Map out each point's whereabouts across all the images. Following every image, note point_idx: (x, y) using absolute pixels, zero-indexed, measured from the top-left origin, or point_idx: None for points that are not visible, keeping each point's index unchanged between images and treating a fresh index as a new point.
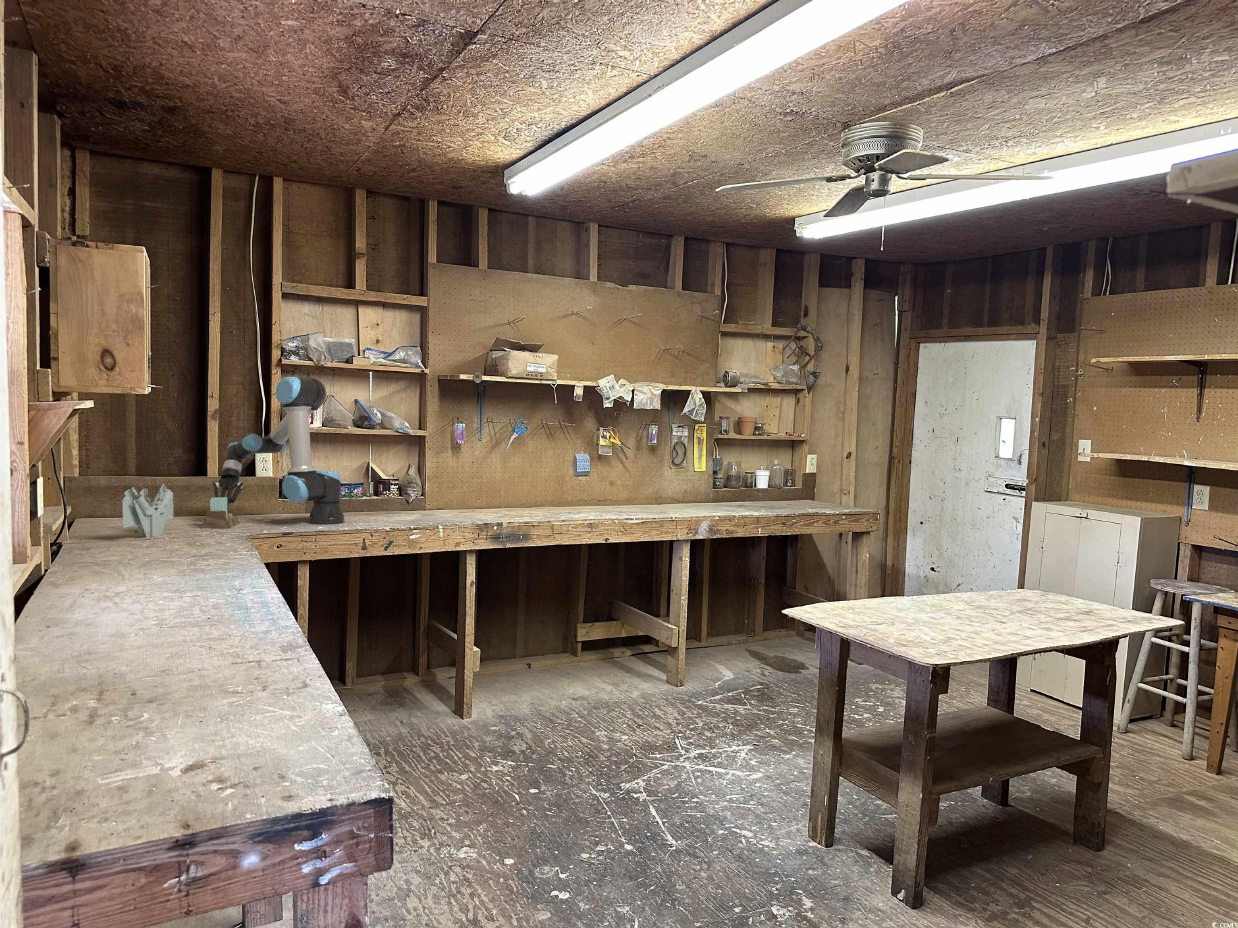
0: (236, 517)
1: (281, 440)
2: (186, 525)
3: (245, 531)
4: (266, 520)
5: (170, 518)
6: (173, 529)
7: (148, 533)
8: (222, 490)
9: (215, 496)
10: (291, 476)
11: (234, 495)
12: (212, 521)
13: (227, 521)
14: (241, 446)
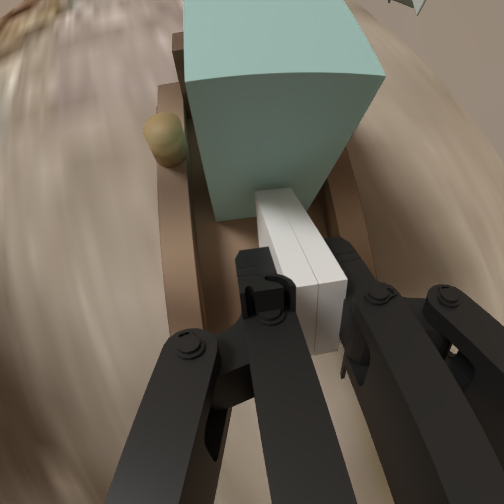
0: (169, 307)
1: None
2: (460, 223)
3: (76, 56)
4: (72, 484)
5: (414, 4)
6: (425, 90)
7: (406, 1)
8: (489, 485)
9: (491, 323)
10: None
11: (150, 423)
12: None
13: (167, 87)
14: None
